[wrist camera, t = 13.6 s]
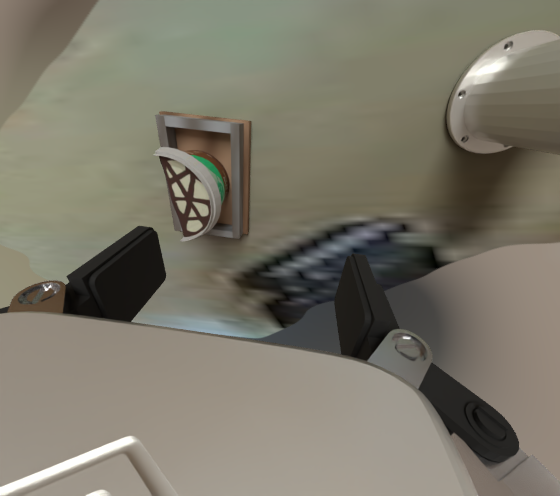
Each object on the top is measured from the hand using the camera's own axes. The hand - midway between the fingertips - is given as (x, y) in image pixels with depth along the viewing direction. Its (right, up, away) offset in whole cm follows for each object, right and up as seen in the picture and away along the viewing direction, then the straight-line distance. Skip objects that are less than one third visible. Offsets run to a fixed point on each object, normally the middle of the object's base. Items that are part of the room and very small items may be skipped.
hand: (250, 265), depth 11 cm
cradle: (-10, +12, +27) cm, 31 cm away
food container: (-9, +12, +26) cm, 30 cm away
